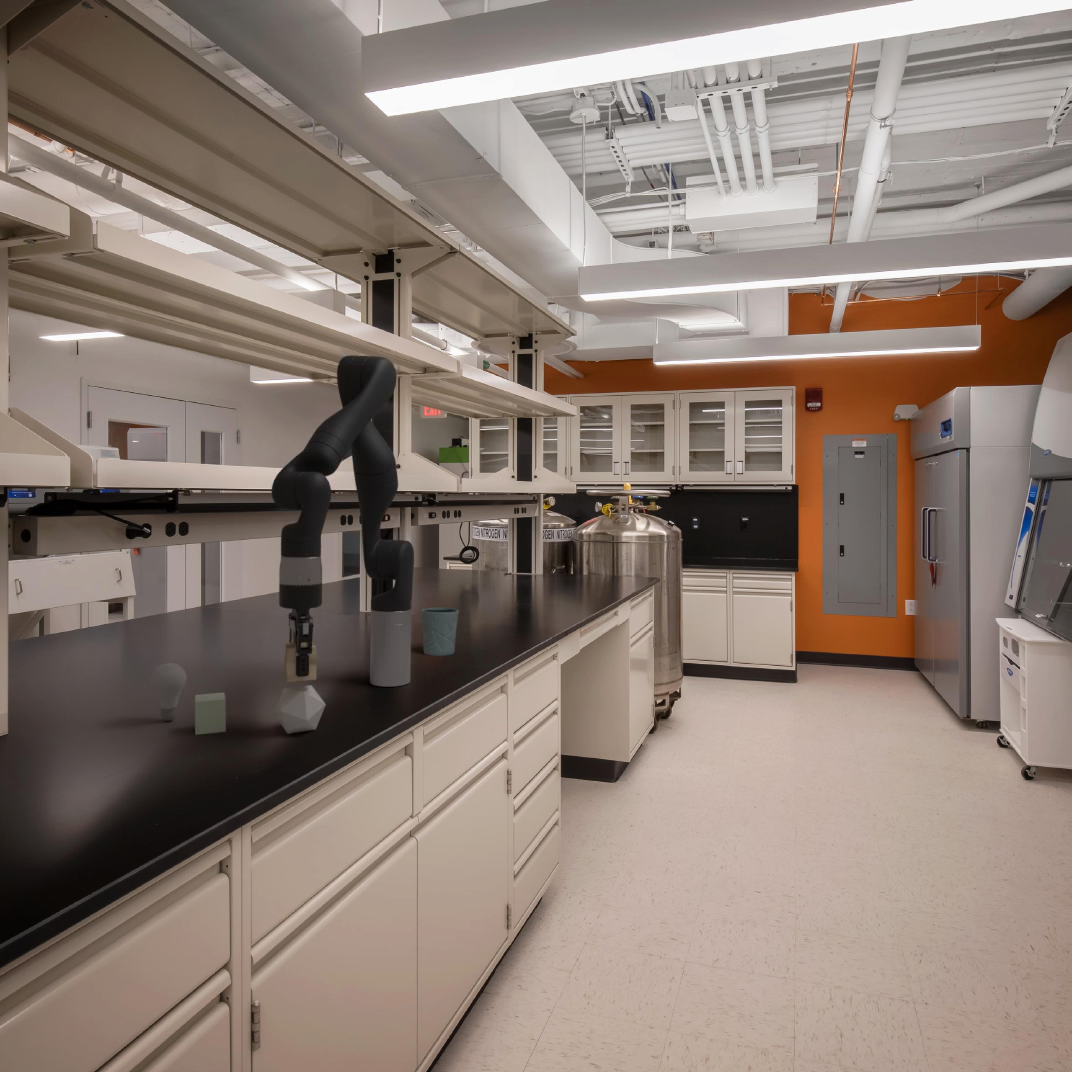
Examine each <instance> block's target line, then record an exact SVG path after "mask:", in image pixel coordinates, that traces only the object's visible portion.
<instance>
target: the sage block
mask: <svg viewBox="0 0 1072 1072" xmlns="http://www.w3.org/2000/svg"><path fill="white" fill-rule="evenodd" d="M226 703H227V701H226V694H225V692H216V693H215V692H214V693H213V692H212V693H202V694H195V695H194V730H195V731H194V732H195V733H194V734H195V736H196V735H205V734H207V735H208V734H218V733H224V732H225V733H226V732H227V731H226V726H227V725H226V724H227V723H226V722H227V721H226V719H227V715H226V714H227V713H226V712H227V711H226V709H227V708H226V707H227V706H226Z"/></svg>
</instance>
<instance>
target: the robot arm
mask: <svg viewBox="0 0 1072 1072" xmlns="http://www.w3.org/2000/svg"><path fill="white" fill-rule="evenodd" d="M336 383H337V389H338V393H339V394H338V395H339V398H340V403H341V407H342V408H341V409H340V410H338V411H336V412H335V413H333V414H332V415H330V416H329V417H327V418H326V419H325V420H324V421H323V422H322V423H320V425H319V426H318V427H316V429H315V431H314V433H313V434H312V435H311V437H310V439H309V440H308V442H307V443H306V445H305V447H304V448H303V450H302V451H300V453H298V454H297V455H296V456H294V457H293V458H292V459H291V460H290V461H289V462H288V463H286V464H285V466H284V467H282V469H281V470H280V471H279V472H278V473H277V474H276V476H275V478H274V479H273V482H272V485H271V497H272V500H273V502H274V504H275V505H276V506H277V507H279V508H280V509H282V510H283V509H284V510H289V511H300V514H299V517H298V520H297V521H296V522H293V523H287V524H285V525H284V526H283V527H282V528H281V534H280V562H279V567H278V568H279V571H278V572H279V574H278V577H279V579H278V580H279V581H278V582H279V583H278V605H279V607H280V608H282V609H286V610H287V609H289V610H291V612H289V613H288V618H287V624H288V637H289V639H288V643H293V644H295V654H296V675H297V676H298V677H303V676H308V675H309V655H310V654H312V642H313V640H314V639H313V636H314V625H315V624H314V618H313V616H311V615H310V610H311V609H315V608H319V607H321V606H322V604H323V564H322V557H321V556H322V533H323V530H324V526H325V523H326V522H325V521H326V518H327V516H328V511H329V507H330V505H331V500H332V488H331V484H330V481H329V479H328V478H327V477H328V476H331V475H333V474H334V473H335V472H337V470H338V468H339V466H340V465H341V463H342V462H343V460H344V458H345V456H346V454H347V453H348V451H349V449H350V451H351V459H352V468H353V476H354V483H355V488H356V496H357V501H358V507H359V514H360V521H361V536H362V537H361V540H362V555H363V556H362V557H363V564H364V565H363V566H364V569H365V572H366V574H367V576H368V577H369V578H370V579H373V580H391V581H394V585H393V587H392V588H391V589H390V590H388V591H385V592H382V593H378V594H375V595H374V596H372V597H371V600H370V649H369V651H370V652H369V653H370V654H369V655H370V656H369V657H370V659H369V675H370V676H369V683H370V684H371V685H372V686H378V687H386V688H387V687H388V688H389V687H400V686H405V685H407V684H409V683H411V661H412V658H411V657H412V656H411V653H412V652H411V651H412V650H411V649H412V648H411V647H412V646H411V645H412V642H411V641H412V601H413V600H412V598H413V585H414V583H413V579H414V569H415V567H414V566H415V551H414V546H413V544H412V543H411V542H410V541H409V540H404V539H403V540H402V539H382V537H381V526H382V525H381V524H382V521H383V518H384V517H385V515H386V513H387V511H388V509H389V508H390V507H391V504H392V502H393V500H394V499H395V497H396V495H397V492H398V490H399V478H398V469H397V462H396V457H395V455H394V454H395V453H394V452H393V451H392V449H391V447H390V446H389V445H388V443H387V442H386V440H385V439H384V437H383V436H382V435H381V433H380V432H379V430H378V429H377V428H376V427H375V424H374V422H373V421H372V420H373V419H374V417H375V416H376V415H377V414H378V413H379V412H380V410H381V409H382V408H383V407H384V406H385V405H386V403H388V401H389V400H390V398H391V397H392V396H393V394H394V392H395V389H396V386H397V371H396V368H395V365H394V363H393V361H391V360H390V359H389V358H387V357H385V356H378V355H377V356H376V355H356V354H355V355H350V354H349V355H345V356H342V358H341V359H340V360H339V362H338V365H337V370H336ZM301 643H306V647H304V648H301Z"/></svg>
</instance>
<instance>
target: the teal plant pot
mask: <svg viewBox="0 0 1072 1072" xmlns="http://www.w3.org/2000/svg"><path fill="white" fill-rule="evenodd" d="M421 618H422V619H421V620H422V621H421V622H422V640H423V654H424V655H426V656H427V655H428V656H435V657H440V656H441V657H442V656H451V655H453V654H454V653H455V646H456V637H457V626H458V618H459V609H457V608H453V607H451V608H450V607H428V608H427V607H426V608H422V609H421Z"/></svg>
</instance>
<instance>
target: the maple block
mask: <svg viewBox="0 0 1072 1072" xmlns="http://www.w3.org/2000/svg"><path fill="white" fill-rule="evenodd" d="M283 646H284V648H283V649H284V651H283V652H284V655H283V657H284V658H283V659H284V660H283V663H284V664H283V665H284V666H283V668H284V669H283V670H284V673H283V676H284V678H285V679H286V681H287V682H301V681H313V680H317V645H315V643H314V642H313V641H312V654H310V655H309V675H308V676H303V677H298V676H297V675H296V654H295V644H293V643H290V642H288V643H284V645H283ZM304 647H306V643H301V648H304Z"/></svg>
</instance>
